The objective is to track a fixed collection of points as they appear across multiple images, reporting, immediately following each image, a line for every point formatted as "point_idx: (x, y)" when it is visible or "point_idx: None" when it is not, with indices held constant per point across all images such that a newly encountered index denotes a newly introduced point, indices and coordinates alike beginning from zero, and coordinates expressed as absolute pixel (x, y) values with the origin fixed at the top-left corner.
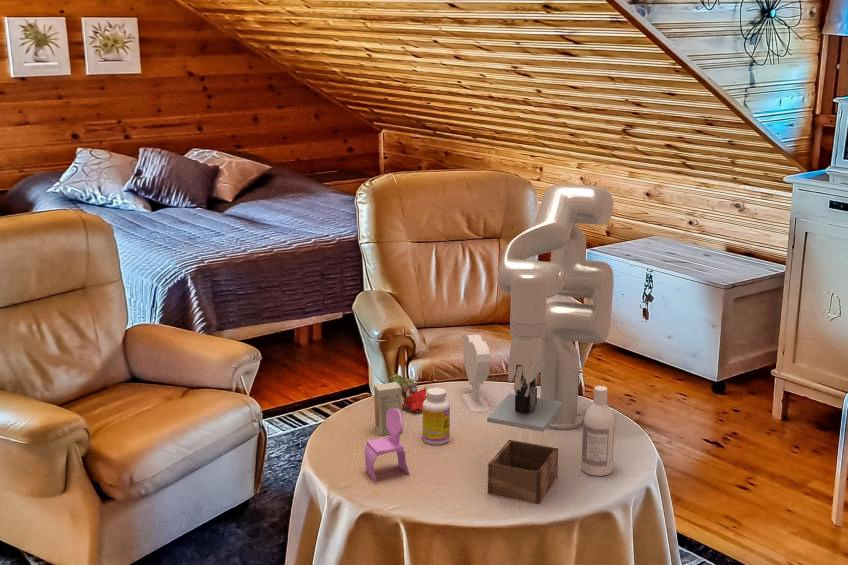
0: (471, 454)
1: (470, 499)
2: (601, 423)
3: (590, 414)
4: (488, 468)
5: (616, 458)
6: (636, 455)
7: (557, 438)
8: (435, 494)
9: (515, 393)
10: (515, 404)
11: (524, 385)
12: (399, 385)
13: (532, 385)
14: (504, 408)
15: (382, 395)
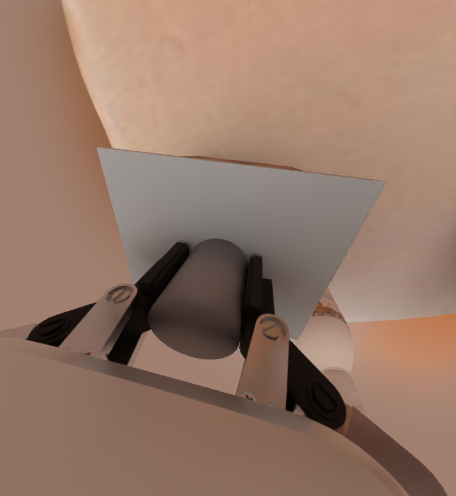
0: (350, 64)
1: (172, 133)
2: (296, 342)
3: (312, 342)
4: (183, 156)
5: (336, 295)
6: (345, 311)
7: (419, 226)
8: (159, 54)
9: (108, 293)
10: (166, 254)
11: (223, 327)
12: None
13: (240, 351)
14: (203, 196)
15: None
